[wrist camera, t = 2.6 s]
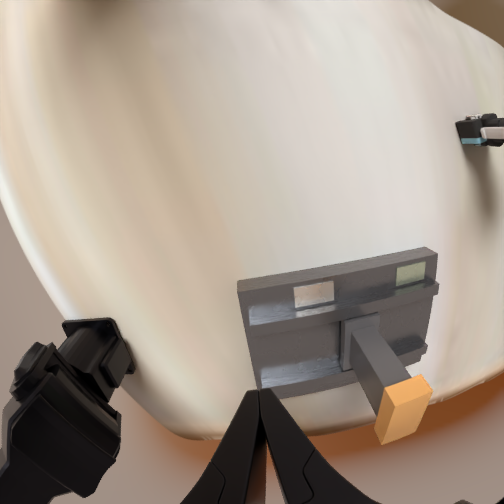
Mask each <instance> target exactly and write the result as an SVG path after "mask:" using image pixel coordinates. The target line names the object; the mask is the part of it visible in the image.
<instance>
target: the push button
mask: <svg viewBox="0 0 504 504" xmlns="http://www.w3.org/2000/svg"><path fill="white" fill-rule="evenodd" d="M466 117H475V118H476V119H473V120H464V121H458V122H456V125H457V128H458V131H459V135H460V138H461V141H462V144H466V143H468V144H475V146H487V145H489V146H496V147H500V146H502V145H503V143H504V118H497V115H496V114H493V113H492V114H484V115H483V116H481V114H475V115H469V116H466ZM479 144H480V145H479Z"/></svg>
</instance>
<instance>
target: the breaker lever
mask: <svg viewBox="0 0 504 504" xmlns="http://www.w3.org/2000/svg"><path fill="white" fill-rule="evenodd" d="M379 324H380V314H379V313H378V312H374V313H370V314H366V315H362V316H358V317H354V318H349V319H345V320H341V353H340V364H341V367H342V369H343V371H344V370H348V369H352V368H353V370H354V372H355V374H356V376H357V378H358V380H359V382H360V384H361V386H362V388H363V390H364V392H365V394H366V396H367V398H368V400H369V402H370V404H371V406H372V408H373V410H374V412H375V414H376V416H377V419H376V423H375V426H374V430H375V432H376V434H377V436H378V439H379V441H380V443H381V445H383V444H386V443H389V442H391V441H394V440H397V439H399V438H401V437H404V436H406V435H408V434H411V433H413V432H415V431H416V429H417V427H418V425H419V423H420V421H421V419H422V416H423V414H424V412H425V409H426V407H427V405H428V402H429V400H430V398H431V395H432V392H433V390H432V388H431V387H430V386H429V384H428V383H427V382H426V380H425V379H424V377H423V376H422V375H421V374H420V375H418V376H415V377H413V378H412V377H411V376H410V374H409V373H408V371H407V370H406V369H405V367H404V366H403V364H402V363H401V362H400V360H399V359H398V357H397V356H396V355H395V353H394V352H393V351H392V349H391V348H390V347H389V345H388V344H387V342H386V341H385V340H384V338H383V337H382V336H381V334H380V333H379Z"/></svg>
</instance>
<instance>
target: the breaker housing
mask: <svg viewBox="0 0 504 504" xmlns="http://www.w3.org/2000/svg"><path fill="white" fill-rule="evenodd" d="M437 258H438V253H436V252H434V251H432V250H430V249H428V248H427V247H422V248H417V249H412V250H407V251H402V252H397V253H392V254H387V255H382V256H377V257H372V258H367V259H361V260H356V261H351V262H345V263H340V264H334V265H329V266H323V267H318V268H312V269H306V270H300V271H295V272H289V273H283V274H277V275H271V276H264V277H258V278H252V279H246V280H239V281H237V293H238V298H239V303H240V308H241V313H242V318H243V323H244V328H245V332H246V337H247V342H248V347H249V352H250V356H251V361H252V366H253V370H254V375H255V380H256V384H257V389H258V391H259V390H260V389H264V388H271V389H272V391H273V392H274V394H275V395H276V396H277V398H278V399H283V398H289V397H295V396H300V395H305V394H310V393H315V392H319V391H324V390H328V389H332V388H336V387H340V386H344V385H348V384H352V383H355V382H359V380H358V378H357V376H356V374H355V372H354V370H353V368H352V369H348V370H344V371H343V369H342V367H341V364H340V353H341V320H345V319H349V318H354V317H358V316H362V315H366V314H370V313H374V312H378V313H379V314H380V324H379V333H380V334H381V336H382V337H383V338H384V340H385V341H386V342H387V344H388V345H389V347H390V348H391V349H392V351H393V352H394V353H395V355H396V356H397V357H398V359H399V360H400V362H401V363H402V364H403V366H404V367H406V366H408V365H411V364H414V363H416V362H419V361H420V359H421V355H423V354H425V353H426V351H427V347H428V345H427V344H426V343H425V338H426V334H427V329H428V324H429V319H430V313H431V307H432V301H433V296H434V295H437V294H438V289H439V283H437V282H436V281H435V279H436V269H437Z"/></svg>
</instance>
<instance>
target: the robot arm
mask: <svg viewBox="0 0 504 504" xmlns="http://www.w3.org/2000/svg"><path fill="white" fill-rule="evenodd" d="M108 322H109V323H110V324H111V325H110V324H108ZM62 327H63V329H64V332H65V334H66V336H67V339H66V340H65V341H64V342H63V343H62V345H61V346H60V347H59V348H58V350H57V349H56V346H55V345H54V344H53V343H52V342H51V343H50V344H48V345H47V346H46V345H42V344H40V343H39V342H36V343H34V344H33V345H32V347H31V348H30V349H29V350H28V351H27V352H26V353H25V354H24V356H23V357H22V359H21V360H20V362H19V364H18V365H17V367H16V369H15V370H14V376H15V377H14V380H13V383H12V385H11V388H10V391H9V392H10V393H11V394H12V396H13V397H12V399H10V401H9V402H8V403H7V405H6V406H5V407H4V409H3V414H2V448H1V449H0V504H50V502H51V501H52V500H53V498H54V497H57V496H60V495H64V494H68V493H71V492H74V493H76V494H77V495H79V496H81V497H82V498H86V497H88V496H90V495H91V494H93V493H94V492H95V490H96V488H97V486H98V484H99V482H100V480H101V478H102V476H103V475H104V474H105V472H106V471H107V470H108V468H110V466H112V465H113V464H114V463H115V462H116V457H117V455H118V453H119V450H120V443H121V437H120V436H121V414H120V413H119V412H118V411H115V410H114V409H113V408H112V407H111V406H110V405H109V404H108V402H109V400H110V398H111V396H112V394H113V392H114V389H115V388H118V387H119V386H120V383H121V381H122V379H123V377H124V375H125V374H134V372H135V367H134V365H133V363H132V361H131V357H130V355H129V353H128V351H127V349H126V347H125V344H124V342H123V340H122V339H121V337H120V334H119V332H118V330H117V327H116V325H115V322H114V321H113V319H111V318H108V317H107V318H95V319H81V320H66V321H64V322H63V323H62ZM130 369H131V370H130ZM266 440H267V442H266ZM267 444H268V448H269V452H270V455H271V459H272V462H273V466H274V469H275V472H276V476H277V479H278V482H279V486H280V489H281V492H282V495H283V498H284V502H285V504H381V503H378V502H376V501H374V500H372V499H370V498H369V497H368V496H366V495H365V494H363V493H362V492H361V491H360V490H358V489H357V488H356V487H355V486H353V485H352V484H351V483H350V482H349V481H347V480H346V479H345V478H344V477H343V476H341V475H340V474H339V473H338V472H337V471H336V470H335V469H334V468H333V467H332V466H331V465H330V464H329V463H328V462H327V461H326V460H325V459H324V457H323V456H322V455H321V454H320V453H319V451H318V450H317V449H316V448H315V447H314V445H313V444H312V443H311V441H310V440H309V439H308V438H307V436H306V435H305V434H304V432H303V431H302V430H301V429H300V427H299V426H298V425H297V423H296V422H295V421H294V419H293V418H292V417H291V415H290V414H289V413H288V411H287V410H286V409H285V407H284V406H283V405H282V403H281V402H280V400H279V399H278V398H277V396H276V395H275V394H274V392H273V391H272V389H271V388H264V389H260V390H259V391H258V390H249V391H247V392H246V393H245V395H244V397H243V400H242V402H241V404H240V405H239V407H238V409H237V411H236V413H235V415H234V417H233V419H232V421H231V423H230V425H229V427H228V429H227V431H226V433H225V435H224V436H223V438H222V440H221V442H220V444H219V446H218V448H217V450H216V452H215V453H214V455H213V457H212V459H211V462H209V464H208V466H207V467H206V469H205V471H204V472H203V474H202V476H201V477H200V479H199V481H198V482H197V483H196V485H195V486H194V487H193V488H192V490H191V491H190V492H189V494H188V495H187V496H186V497H185V498H184V500H183V501H182V502H181V503H180V504H265V496H266V458H267ZM454 504H472V503H470V502H468V501H465V500H460V501H458V502H456V503H454ZM496 504H504V497H503V498H502V499H501V500H499V501H498V502H497V503H496Z"/></svg>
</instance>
